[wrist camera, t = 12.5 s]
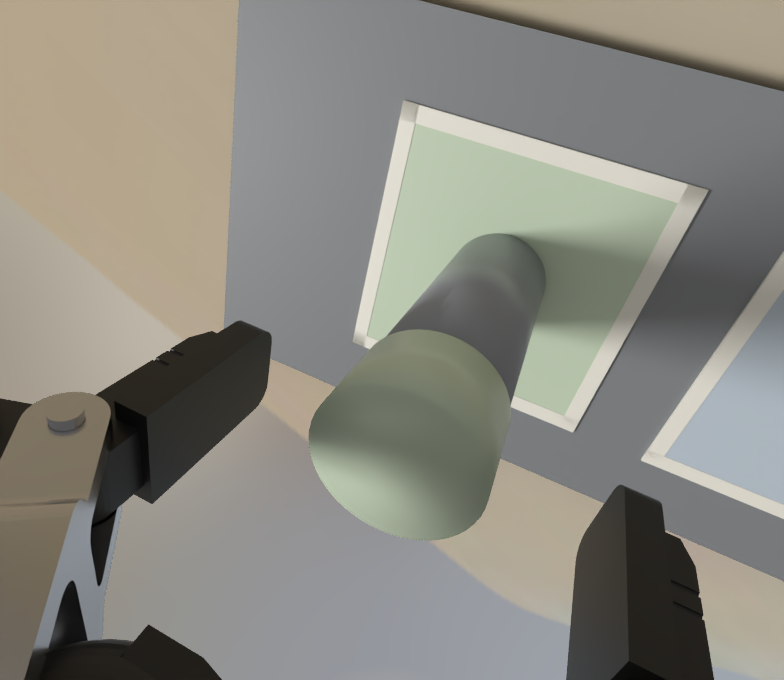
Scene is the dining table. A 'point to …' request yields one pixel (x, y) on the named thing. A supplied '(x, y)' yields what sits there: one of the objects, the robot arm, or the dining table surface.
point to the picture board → (530, 237)
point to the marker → (434, 397)
